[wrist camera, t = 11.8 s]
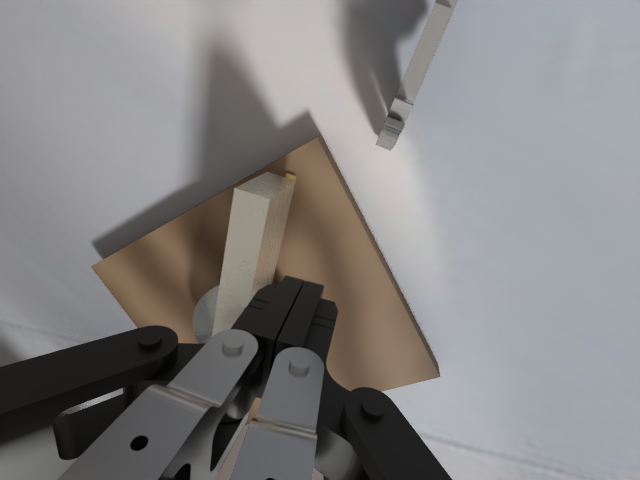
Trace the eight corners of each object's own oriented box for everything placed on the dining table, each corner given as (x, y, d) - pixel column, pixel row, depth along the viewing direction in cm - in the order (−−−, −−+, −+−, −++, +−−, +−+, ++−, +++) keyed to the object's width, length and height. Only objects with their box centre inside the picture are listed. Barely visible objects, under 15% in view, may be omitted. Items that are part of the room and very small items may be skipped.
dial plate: (223, 419, 36) (216, 433, 34) (104, 259, 31) (89, 267, 30) (437, 363, 28) (440, 378, 26) (321, 135, 23) (316, 137, 21)
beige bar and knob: (292, 376, 29) (269, 437, 24) (200, 342, 30) (157, 394, 25) (348, 192, 22) (333, 219, 17) (225, 154, 23) (173, 168, 18)
